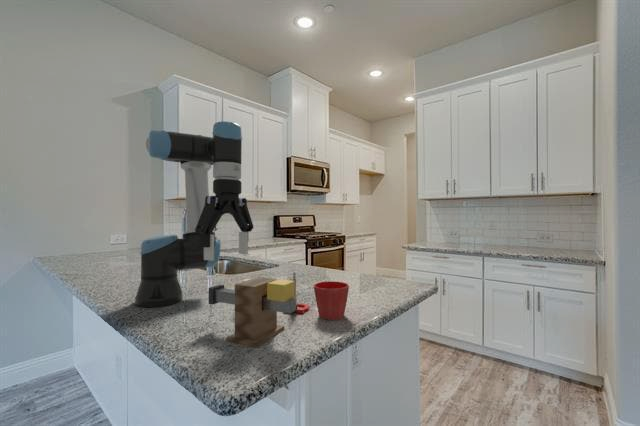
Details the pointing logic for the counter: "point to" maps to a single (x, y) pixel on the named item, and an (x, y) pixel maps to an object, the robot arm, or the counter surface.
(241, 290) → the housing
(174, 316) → the counter surface
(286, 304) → the shaft
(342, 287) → the flower pot
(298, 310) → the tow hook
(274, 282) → the block
